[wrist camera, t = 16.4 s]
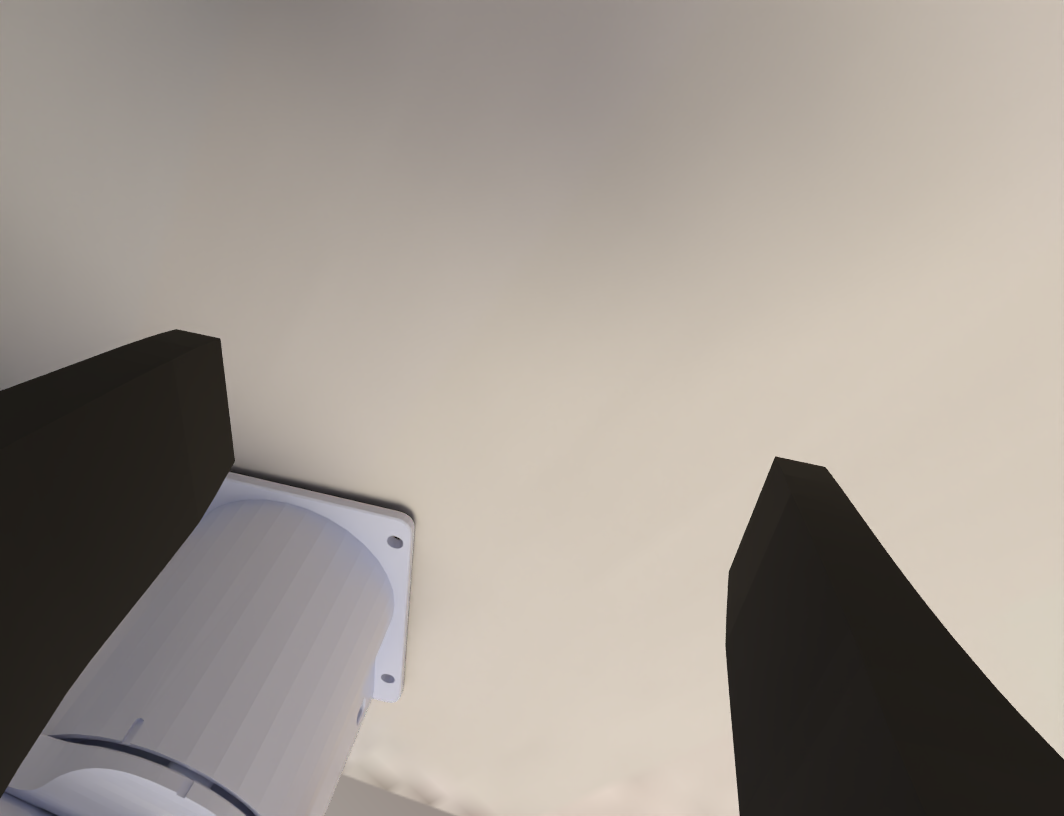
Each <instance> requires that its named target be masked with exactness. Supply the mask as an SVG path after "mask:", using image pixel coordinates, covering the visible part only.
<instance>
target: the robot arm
mask: <svg viewBox="0 0 1064 816" xmlns="http://www.w3.org/2000/svg"><path fill="white" fill-rule="evenodd" d="M234 462H235V458H234V450H233V441H232V433H231V425H230V416H229V408H228V399H227V391H226V383H225V374H224V366H223V357H222V349H221V340H220V338H215V337H210V336H205V335H201V334H196V333H191V332H187V331H182V330H177V329H176V330H172V331H168V332H165V333H161V334H157V335H154V336H151V337H148V338H145V339H142V340H139V341H136V342H133V343H130V344H127V345H124V346H122V347H119V348H116V349H113V350H111V351H108V352H105V353H102V354H100V355H97V356H94V357H92V358H89V359H86V360H83V361H81V362H78V363H75V364H73V365H70V366H67V367H65V368H62V369H59V370H56V371H54V372H51V373H48V374H46V375H43V376H40V377H37V378H35V379H32V380H29V381H27V382H24V383H21V384H19V385H16V386H13V387H10V388H8V389H5V390H2V391H0V816H324V815H325V813H326V810H327V808H328V805H329V803H330V800H331V798H332V796H333V793H334V790H335V788H336V786H337V783H338V781H339V778H340V776H341V773H342V771H343V769H344V766H345V764H346V761H347V759H348V756H349V754H350V751H351V749H352V746H353V744H354V741H355V739H356V737H357V734H358V732H359V729H360V727H361V724H362V722H363V719H364V717H365V714H366V712H367V709H368V707H369V705H370V702H371V700H372V699H376V700H380V701H384V702H390V703H392V702H396V701H398V700H399V699H400V697H401V694H402V691H403V681H404V668H405V654H406V640H407V626H408V613H409V599H410V585H411V571H412V557H413V544H414V530H415V526H414V522H413V520H412V519H411V517H409V516H408V515H407V514H405V513H403V512H400V511H396V510H391V509H387V508H383V507H378V506H374V505H370V504H365V503H361V502H357V501H353V500H348V499H344V498H340V497H335V496H331V495H327V494H323V493H318V492H314V491H310V490H305V489H301V488H297V487H293V486H288V485H284V484H280V483H275V482H271V481H267V480H262V479H258V478H254V477H250V476H245V475H241V474H237V473H232V472H229V471H230V469H231V467H232V465H233V464H234ZM393 536H396V537H398V538H400V539H401V540H398V539H396V538H394V537H393ZM726 658H727V671H728V684H729V696H730V708H731V720H732V731H733V743H734V754H735V766H736V777H737V789H738V801H739V812H740V816H1064V759H1063V758H1062V757H1061V756H1060V755H1059V754H1058V753H1057V752H1056V751H1055V750H1054V749H1053V748H1052V747H1051V746H1050V745H1049V744H1048V743H1047V742H1046V741H1045V740H1044V738H1043V737H1042V736H1041V735H1040V734H1039V733H1038V732H1037V731H1036V730H1035V729H1034V728H1033V727H1032V726H1031V725H1030V724H1029V723H1028V722H1027V721H1026V720H1025V719H1024V718H1023V717H1022V716H1021V715H1020V714H1019V712H1018V711H1017V710H1016V709H1015V708H1014V707H1013V706H1012V705H1011V704H1010V703H1009V701H1008V700H1007V699H1006V698H1005V697H1004V696H1003V695H1002V694H1001V693H1000V692H999V690H998V689H997V688H996V687H995V686H994V685H993V684H992V683H991V681H990V680H989V679H988V678H987V677H986V675H985V674H984V673H983V672H982V671H981V670H980V668H979V667H978V666H977V665H976V664H975V663H974V661H973V660H972V659H971V658H970V657H969V655H968V654H967V653H966V652H965V651H964V650H963V648H962V647H961V646H960V645H959V644H958V642H957V641H956V640H955V639H954V638H953V637H952V635H951V634H950V633H949V632H948V631H947V629H946V628H945V627H944V626H943V624H942V623H941V622H940V621H939V619H938V618H937V617H936V616H935V614H934V613H933V612H932V611H931V609H930V608H929V607H928V606H927V604H926V603H925V602H924V600H923V599H922V598H921V597H920V595H919V594H918V593H917V591H916V590H915V589H914V587H913V586H912V585H911V583H910V582H909V581H908V580H907V578H906V577H905V576H904V574H903V573H902V572H901V570H900V569H899V568H898V566H897V565H896V564H895V562H894V561H893V559H892V558H891V557H890V555H889V554H888V553H887V551H886V550H885V549H884V547H883V546H882V545H881V543H880V542H879V540H878V539H877V538H876V536H875V535H874V533H873V532H872V531H871V529H870V528H869V526H868V525H867V524H866V522H865V521H864V520H863V518H862V517H861V515H860V514H859V512H858V511H857V510H856V508H855V507H854V505H853V504H852V503H851V501H850V500H849V498H848V497H847V496H846V494H845V493H844V491H843V490H842V489H841V487H840V486H839V485H838V483H837V482H836V480H835V479H834V478H833V476H832V475H831V474H830V473H829V471H828V470H827V469H826V467H822V466H818V465H813V464H808V463H804V462H799V461H794V460H789V459H785V458H780V457H775V458H774V461H773V463H772V466H771V468H770V471H769V473H768V476H767V478H766V481H765V483H764V486H763V488H762V491H761V493H760V496H759V498H758V501H757V503H756V506H755V508H754V511H753V513H752V516H751V518H750V521H749V523H748V525H747V528H746V530H745V533H744V535H743V538H742V540H741V543H740V545H739V548H738V550H737V553H736V555H735V558H734V560H733V563H732V565H731V568H730V570H729V578H728V596H727V616H726Z"/></svg>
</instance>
